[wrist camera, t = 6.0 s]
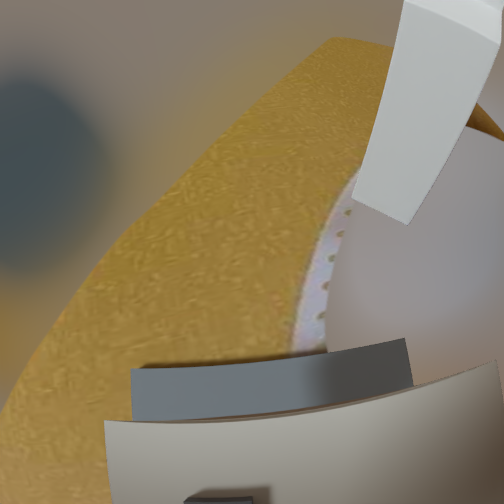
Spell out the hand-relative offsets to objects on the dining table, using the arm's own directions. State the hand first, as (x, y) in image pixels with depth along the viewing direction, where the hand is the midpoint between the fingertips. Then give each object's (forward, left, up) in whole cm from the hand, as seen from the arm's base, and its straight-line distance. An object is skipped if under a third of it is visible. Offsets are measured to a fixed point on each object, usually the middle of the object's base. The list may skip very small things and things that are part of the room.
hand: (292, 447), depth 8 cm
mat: (-1, -1, -13) cm, 13 cm away
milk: (+23, +1, -13) cm, 26 cm away
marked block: (-1, -1, -7) cm, 7 cm away
